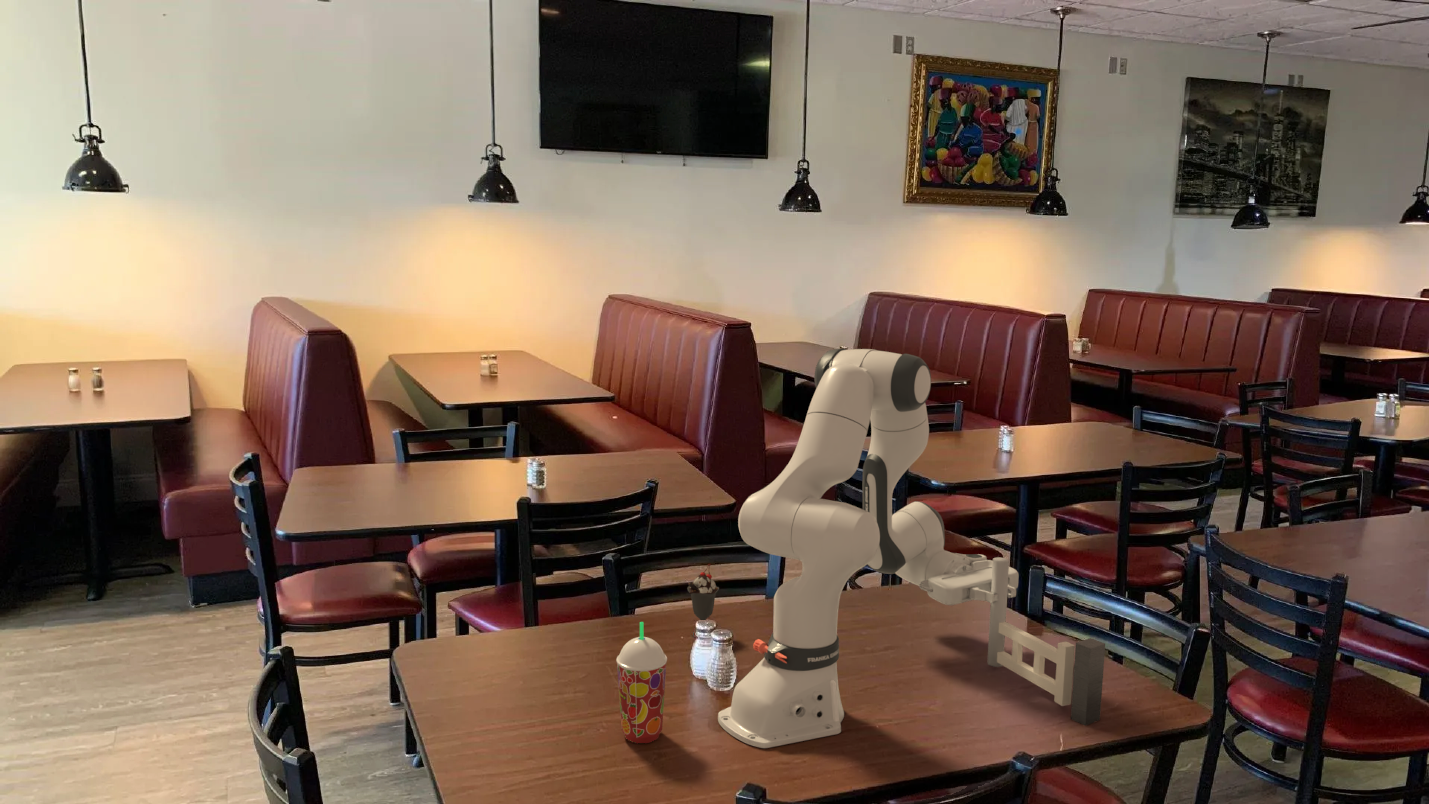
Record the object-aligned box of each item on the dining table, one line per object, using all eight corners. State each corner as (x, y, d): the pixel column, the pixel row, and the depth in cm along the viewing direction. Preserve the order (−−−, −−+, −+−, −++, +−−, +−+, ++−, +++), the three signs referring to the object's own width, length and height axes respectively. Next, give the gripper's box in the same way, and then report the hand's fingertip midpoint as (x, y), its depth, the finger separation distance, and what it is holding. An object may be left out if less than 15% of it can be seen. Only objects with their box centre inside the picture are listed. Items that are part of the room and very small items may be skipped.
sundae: (720, 629, 222) (720, 561, 220) (717, 641, 216) (717, 571, 213) (689, 627, 223) (689, 560, 220) (685, 639, 216) (685, 570, 214)
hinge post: (1085, 725, 180) (1090, 648, 178) (1070, 719, 182) (1075, 642, 180) (1099, 719, 182) (1105, 643, 180) (1085, 713, 184) (1090, 638, 182)
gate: (1073, 703, 186) (1080, 590, 183) (1059, 706, 185) (1067, 593, 181) (996, 659, 205) (1002, 556, 202) (984, 662, 204) (989, 558, 200)
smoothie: (620, 724, 179) (619, 612, 176) (668, 725, 179) (668, 613, 176) (614, 747, 171) (613, 631, 168) (664, 748, 171) (664, 632, 167)
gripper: (914, 569, 205) (967, 590, 194) (986, 552, 217) (1040, 571, 205) (913, 600, 206) (965, 622, 195) (985, 581, 218) (1038, 601, 206)
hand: (1004, 595), depth 200 cm, fingers open, 4 cm apart
